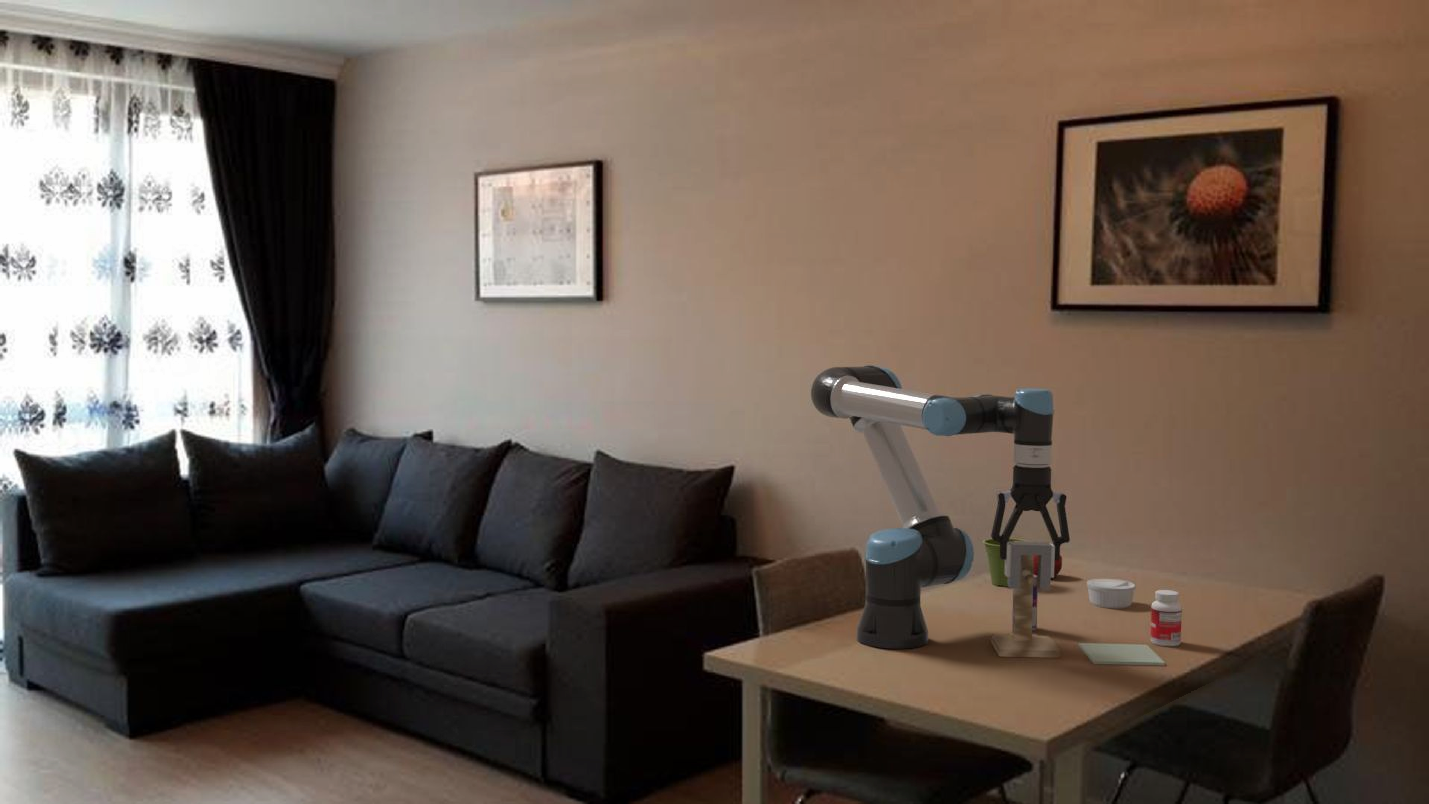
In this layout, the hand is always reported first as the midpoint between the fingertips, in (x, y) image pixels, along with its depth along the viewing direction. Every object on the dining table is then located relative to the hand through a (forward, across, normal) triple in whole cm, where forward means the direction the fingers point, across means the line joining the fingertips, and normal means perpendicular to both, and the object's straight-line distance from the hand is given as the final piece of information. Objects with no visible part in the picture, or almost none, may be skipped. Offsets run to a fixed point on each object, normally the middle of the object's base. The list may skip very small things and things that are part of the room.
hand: (1028, 575), depth 260 cm
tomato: (+17, +18, +82) cm, 86 cm away
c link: (+2, 0, 0) cm, 2 cm away
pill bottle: (+17, +31, +13) cm, 38 cm away
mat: (+16, +19, +2) cm, 25 cm away
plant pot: (+17, +6, +71) cm, 73 cm away
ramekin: (+17, +28, +50) cm, 60 cm away
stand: (+17, 0, +4) cm, 17 cm away
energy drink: (+17, +3, +23) cm, 29 cm away
